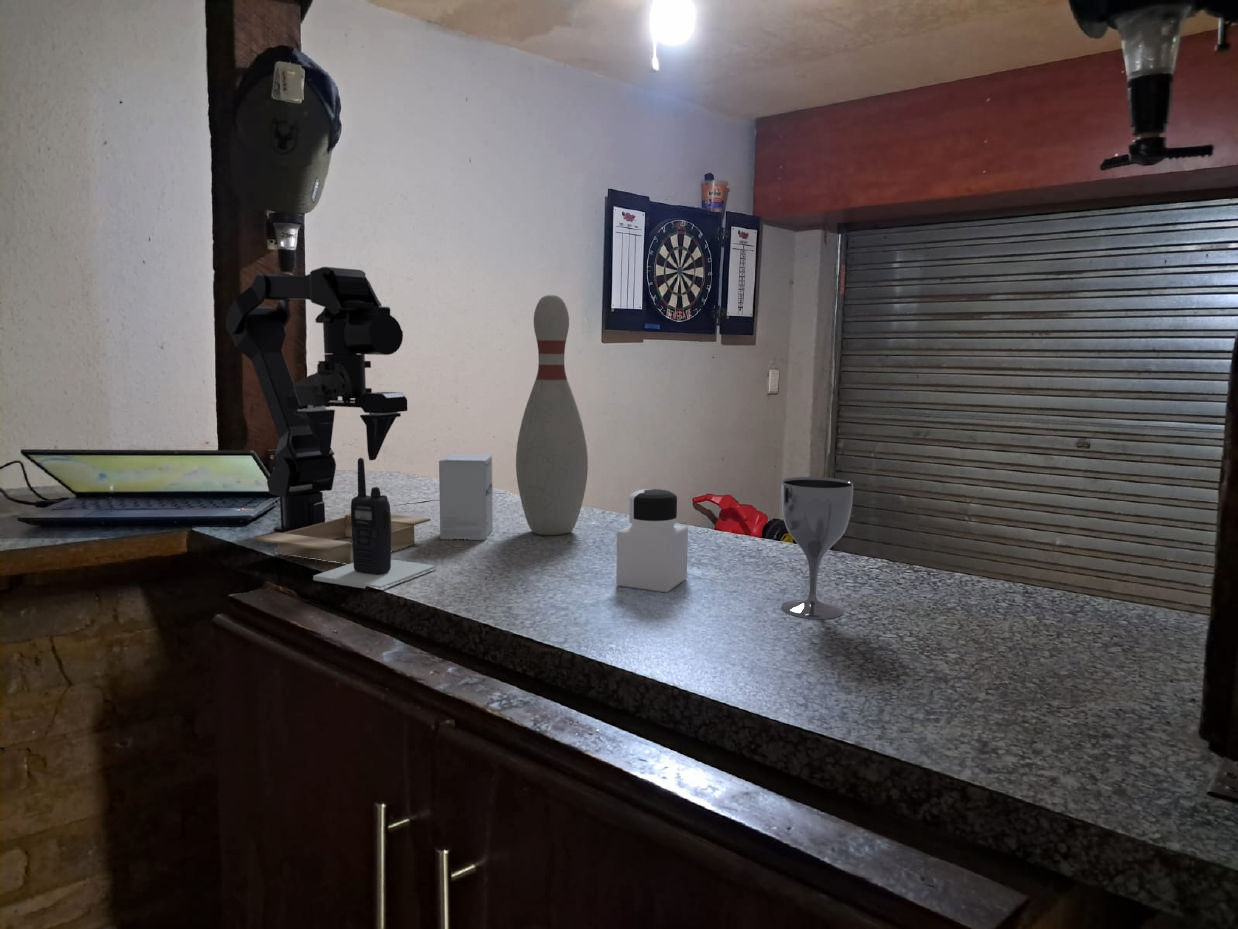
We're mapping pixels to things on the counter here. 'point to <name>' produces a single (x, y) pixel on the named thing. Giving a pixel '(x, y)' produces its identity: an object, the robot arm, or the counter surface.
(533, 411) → the bowling pin
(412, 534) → the carton
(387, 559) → the two-way radio
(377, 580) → the mat
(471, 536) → the supplement box
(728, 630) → the counter surface
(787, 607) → the wine glass
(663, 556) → the medicine bottle
